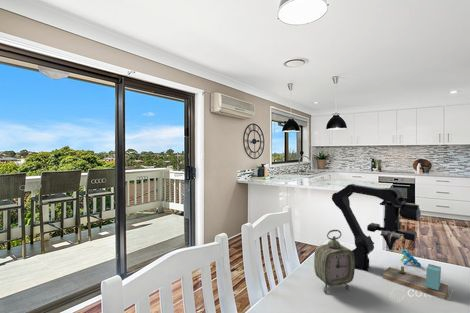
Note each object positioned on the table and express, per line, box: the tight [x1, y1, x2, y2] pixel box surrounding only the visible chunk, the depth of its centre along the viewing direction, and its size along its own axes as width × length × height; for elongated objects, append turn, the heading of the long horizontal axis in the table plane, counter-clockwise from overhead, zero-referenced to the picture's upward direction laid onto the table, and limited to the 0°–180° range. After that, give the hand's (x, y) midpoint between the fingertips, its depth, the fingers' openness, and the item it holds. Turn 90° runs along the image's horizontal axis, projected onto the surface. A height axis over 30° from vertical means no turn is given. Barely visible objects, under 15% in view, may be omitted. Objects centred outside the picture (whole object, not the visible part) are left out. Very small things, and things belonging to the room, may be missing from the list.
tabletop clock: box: [313, 229, 356, 294], centre depth 106 cm, size 14×9×25 cm, turn 105°
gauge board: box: [382, 265, 449, 300], centre depth 110 cm, size 22×10×5 cm, turn 44°
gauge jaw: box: [425, 263, 442, 290], centre depth 104 cm, size 4×7×8 cm, turn 134°
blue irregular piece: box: [400, 249, 422, 267], centre depth 128 cm, size 11×6×10 cm
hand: (390, 249), depth 115 cm, fingers closed
